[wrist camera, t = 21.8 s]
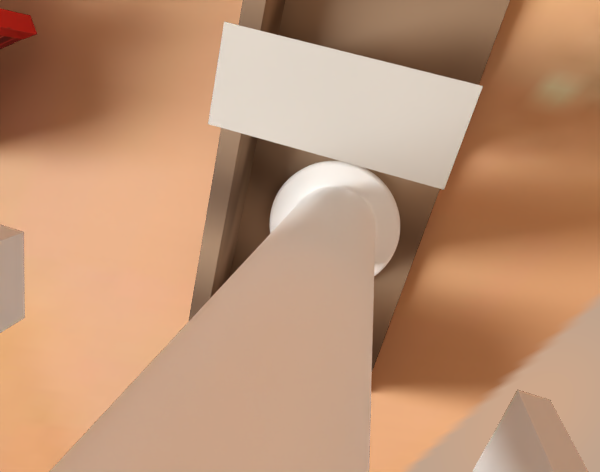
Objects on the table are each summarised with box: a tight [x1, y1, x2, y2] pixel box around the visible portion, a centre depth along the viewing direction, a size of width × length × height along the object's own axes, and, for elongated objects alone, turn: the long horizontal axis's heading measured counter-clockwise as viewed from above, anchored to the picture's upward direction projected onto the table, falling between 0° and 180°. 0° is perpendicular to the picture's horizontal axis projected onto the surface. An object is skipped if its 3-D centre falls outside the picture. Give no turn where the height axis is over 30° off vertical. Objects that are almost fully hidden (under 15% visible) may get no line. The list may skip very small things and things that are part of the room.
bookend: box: [208, 22, 483, 190], centre depth 16 cm, size 3×8×9 cm, turn 76°
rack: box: [189, 0, 510, 370], centre depth 17 cm, size 24×11×14 cm, turn 166°
